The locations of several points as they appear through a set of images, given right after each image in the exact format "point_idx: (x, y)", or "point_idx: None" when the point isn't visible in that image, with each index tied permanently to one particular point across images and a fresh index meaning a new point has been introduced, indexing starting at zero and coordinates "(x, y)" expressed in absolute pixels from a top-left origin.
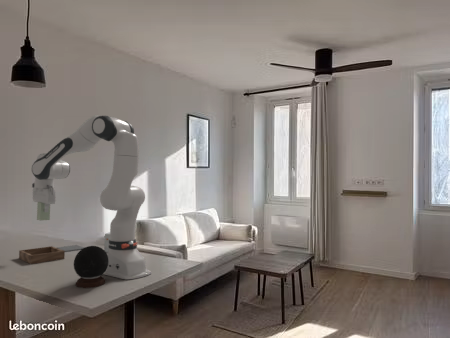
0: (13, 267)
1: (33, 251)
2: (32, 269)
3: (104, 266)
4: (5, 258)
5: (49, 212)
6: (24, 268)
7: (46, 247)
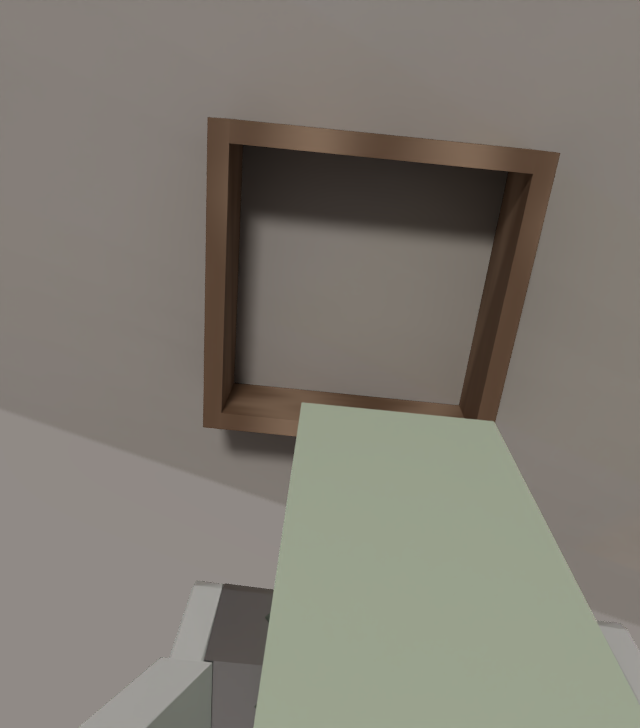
0: None
1: (228, 312)
2: (618, 473)
3: None
4: (150, 454)
5: (547, 538)
6: (547, 492)
7: (227, 191)
